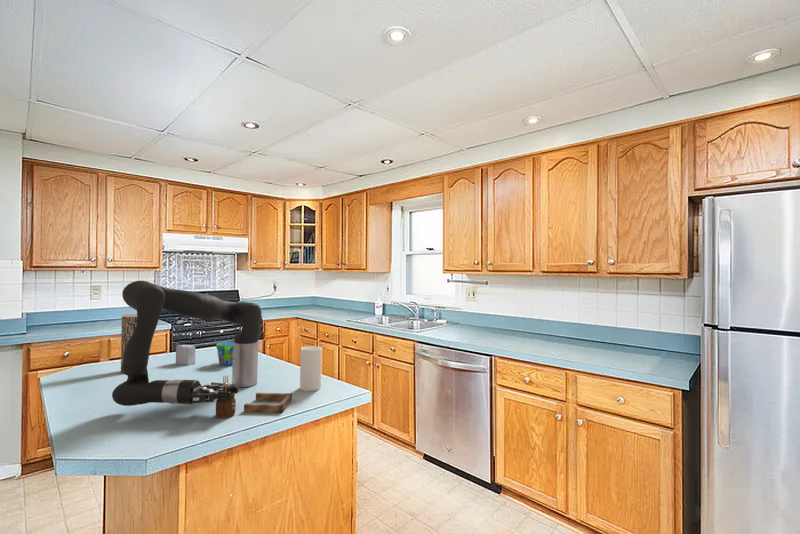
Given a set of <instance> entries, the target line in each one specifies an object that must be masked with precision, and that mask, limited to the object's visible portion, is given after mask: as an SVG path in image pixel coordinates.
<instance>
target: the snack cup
mask: <svg viewBox="0 0 800 534" xmlns="http://www.w3.org/2000/svg"><path fill="white" fill-rule="evenodd" d="M215 347H216V350H217V358H218V364H219V365H220V366H222V365H225V367H227V366H226V365H229V366H232V362H233V360H234V341H222V342H217V343H216V344H215Z"/></svg>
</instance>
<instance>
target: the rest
mask: <svg viewBox="0 0 800 534" xmlns="http://www.w3.org/2000/svg"><path fill="white" fill-rule="evenodd" d="M256 400H268V401H267V402H280V403H244V404H243V413H262V412H269V413H270V414H271V413H272V414H273V413H274V414H283V413H284V412H285V410H286V409H287V408H288V406H289V405H290V404H291V402H292V401H293V393H289V392H288V393H287V392H286V393H284V392H281V393H280V392H256V393H255V401H256ZM289 403H290V404H289ZM286 407H287V408H286ZM269 413H268V414H269Z"/></svg>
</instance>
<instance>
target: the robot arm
mask: <svg viewBox="0 0 800 534" xmlns="http://www.w3.org/2000/svg"><path fill="white" fill-rule="evenodd" d="M121 297H122V300H123V301H124V303H125V304H126V305H127V306H128V307H129V308H132V309H134V310H135V311H136V314H137V323H136V327H135V330H134V332H133V334H132V336H131V337H130V339H129V340H128V342H127V344H126V346H125V349H124V354H123V360H122V368H121V367H120V370H121V369H122V372H121V373H122V374H124V375H125V376H127V379H126V380H125V381H124V382H122V383H120V384H118V385H117V386H116V387H115V388H114V389H113V391H112V395H111V397H112V400H113V402H115V403H116V404H117V405H119V406H125V407H127V406H128V407H130V406H139V405H145V404H149V403H155V404H156V403H157V404H160V403H161V404H162V403H163V404H171V405H194V404H202V403H203V404H205V403H213V402H214V401H217V400H218V399H230V398H231V392H224V391H225V386H223V382H222V383H221V382H213V381H212V382H211V383H209V384H208V383H207V384H204V385H202V384H201V382H200V381H199V380H198V379H171V380H167V379H157V380H156V379H155V380H152V381H150V382H149V380H150V379H149V372H148V365H149V358H150V353H151V352H150V351H151V345H152V342H153V338H154V335H155V333H156V332H155V331H156V328H157V326H158V323H159V320H160V316H161V315H162V312H163V310H164V311H168V312H172V313H174V314H176V315H177V314H178V315H179V316H183V317H186V318H191V319H198V320H205V321H206V320H213V321H214V320H220V321H221V320H222V321H226V322H230V323H233V324H237V325H240V326H242V327H241V332H239V333H237V334H235V335H234V337H233V342H234V360H233V362H232V365H231V367H232V369H231V370H232V371H231V372H232V373H231V374H232V375H231V383H232V385H227V386H226V389H227V391H232V392H234V393H235V394H238V393H239V388H248V387H249V388H250V387H253V386H256V385H257V384H258V375H259V374H258V373H259V372H258V370H259V369H258V368H259V365H258V363H259V337H260V334H261V332H262V331H261V328H262V316H263V315H262V308H261V306H260V305H259V304H258V303H255V302H245V301H227V300H226V301H225V300H222V299H221V298H219V297H217V296H215V295H210V294H207V293H202V292H198V291H191V290H186V289H185V290H184V289H183V290H182V289H174V288H168V287H165V286H161V285H159V284H155V283H152V282H149V281H147V280H136V281H132V282H131V283H128V284H126V286H125V287H123V290H122V295H121ZM222 387H223V388H222ZM228 389H229V390H228ZM222 391H223V392H222Z"/></svg>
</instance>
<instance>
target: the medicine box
mask: <svg viewBox="0 0 800 534" xmlns="http://www.w3.org/2000/svg"><path fill="white" fill-rule="evenodd" d="M191 364H192V365H195V364H196V345H190V344H180V345H177V346H175V365H182V366H192V365H191Z"/></svg>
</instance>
